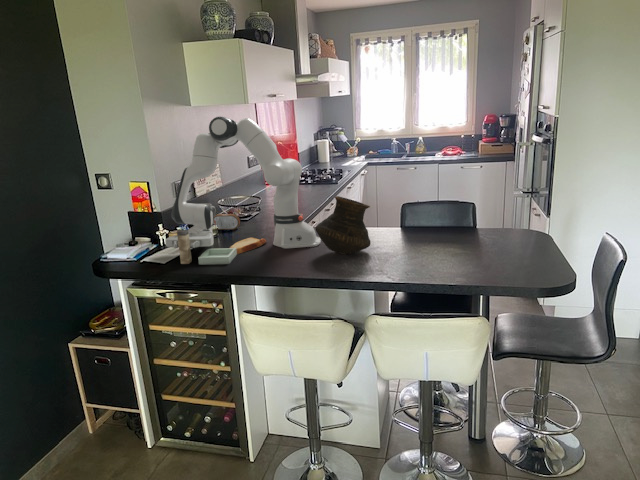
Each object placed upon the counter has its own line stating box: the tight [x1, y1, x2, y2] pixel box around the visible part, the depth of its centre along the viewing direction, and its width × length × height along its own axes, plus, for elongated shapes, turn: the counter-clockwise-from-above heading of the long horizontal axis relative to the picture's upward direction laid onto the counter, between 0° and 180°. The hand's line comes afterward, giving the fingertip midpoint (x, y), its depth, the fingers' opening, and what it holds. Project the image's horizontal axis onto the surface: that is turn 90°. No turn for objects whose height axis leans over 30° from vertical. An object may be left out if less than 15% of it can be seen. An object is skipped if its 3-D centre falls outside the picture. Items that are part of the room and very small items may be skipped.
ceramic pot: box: [314, 195, 371, 256], centre depth 205 cm, size 24×23×25 cm
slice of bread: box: [229, 237, 267, 255], centre depth 224 cm, size 18×18×4 cm
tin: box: [213, 213, 241, 231], centre depth 260 cm, size 15×3×8 cm, turn 84°
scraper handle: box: [176, 229, 193, 265], centre depth 204 cm, size 4×4×14 cm
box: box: [197, 247, 238, 265], centre depth 208 cm, size 13×13×3 cm
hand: (183, 246), depth 203 cm, fingers open, 6 cm apart
